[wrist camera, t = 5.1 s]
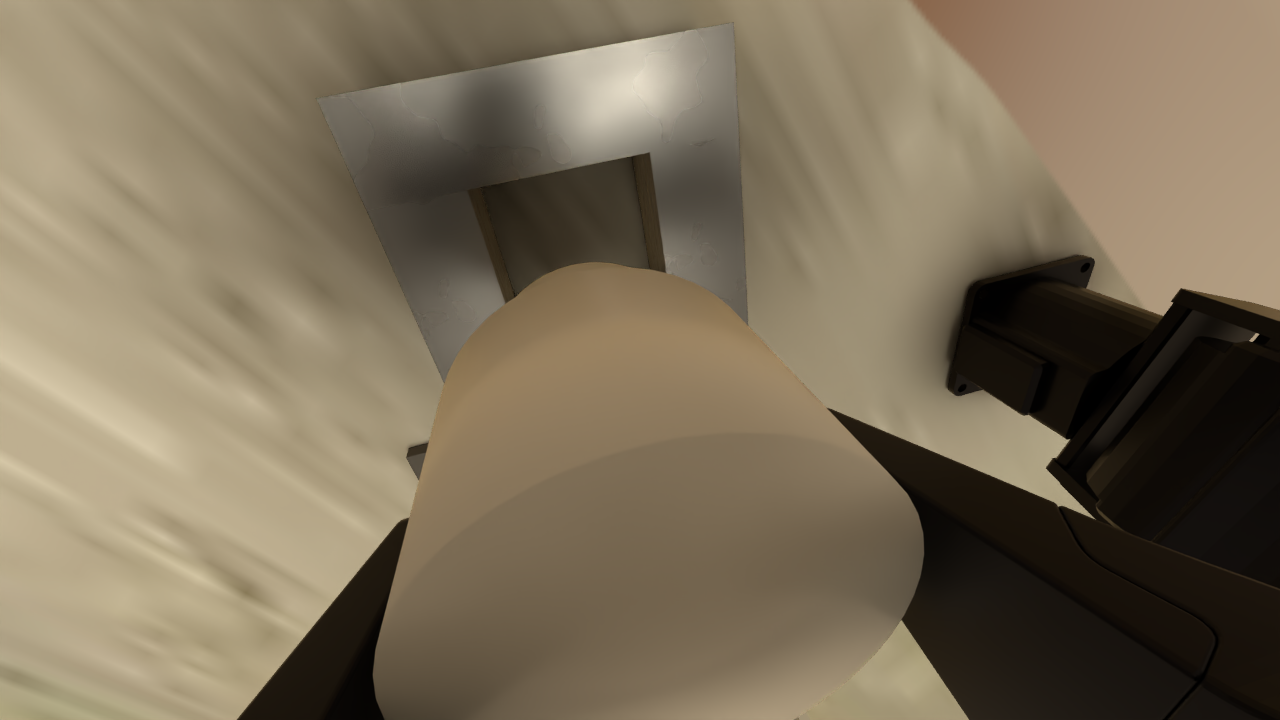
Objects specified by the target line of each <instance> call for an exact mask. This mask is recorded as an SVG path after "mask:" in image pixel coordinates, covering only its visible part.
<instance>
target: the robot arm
mask: <svg viewBox="0 0 1280 720" xmlns="http://www.w3.org/2000/svg"><path fill="white" fill-rule="evenodd" d="M1094 264H1095V261H1094V259H1093V258H1091V257H1088V256H1084V255H1080V256H1076V257H1072V258H1068V259H1064V260H1060V261H1056V262H1052V263H1048V264H1044V265H1040V266H1036V267H1033V268H1029V269H1025V270H1021V271H1017V272H1013V273H1009V274H1005V275H1001V276H997V277H993V278H989V279H985V280H981V281H978V282H976V283H975V284H973V285H972V286H971V288H970V289H969V292H968V295H967V300H966V305H965V309H964V314H963V319H962V323H961V328H960V333H959V338H958V342H957V347H956V352H955V356H954V361H953V366H952V371H951V375H950V380H949V385H948V390H949V391H950V392H951V393H953V394H954V395H956V396H961V395H965V394H968V393H972V392H975V391H979V390H984V391H986V392H987V393H989V394H990V395H992V396H993V397H995V398H997V399H998V400H1000V401H1001V402H1003V403H1004V404H1006V405H1007V406H1009V407H1010V408H1012V409H1013V410H1015V411H1016V412H1018V413H1019V414H1021V415H1024V416H1025V415H1030V416H1031V417H1033V418H1034V419H1036V420H1038V421H1039V422H1041V423H1042V424H1044V425H1045V426H1047V427H1048V428H1050V429H1051V430H1053V431H1055V432H1056V433H1058V434H1059V435H1061V436H1062V437H1064V438H1065V439H1070V441H1069V442H1068V443H1067V445H1066V446H1065V447H1064V449H1063V450H1062V451H1061V452H1060V454H1059V455H1058V456H1057V458H1053V459H1052V460H1051V462H1050V463H1049V464H1048V466H1047V467H1046V469H1047V470H1048V471H1049V472H1050V473H1051V474H1052V475H1053V476H1054V477H1055V478H1056V479H1057V480H1058V481H1059V482H1060V484H1061V485H1062V486H1063V487H1064V488H1065V489H1066V490H1067V491H1068V492H1069V493H1070V494H1071V495H1072V496H1073V497H1074V498H1075V499H1076V500H1077V501H1078V502H1079V503H1080V504H1081V505H1082V506H1083V507H1084V508H1085V509H1086V510H1087V511H1088V512H1089V513H1090V514H1091V515H1092V516H1093V517H1094V518H1095V519H1096V520H1095V519H1093V518H1090V517H1088V516H1086V515H1083V514H1081V513H1078V512H1076V511H1074V510H1071V509H1069V508H1067V507H1064V506H1059V507H1058V506H1057V504H1056V503H1054V502H1052V501H1049V500H1047V499H1045V498H1042V497H1040V496H1037V495H1035V494H1033V493H1030V492H1028V491H1026V490H1023V489H1021V488H1018V487H1016V486H1014V485H1011V484H1009V483H1006V482H1004V481H1002V480H999V479H997V478H995V477H992V476H990V475H987V474H985V473H983V472H980V471H978V470H975V469H973V468H971V467H968V466H966V465H963V464H961V463H959V462H956V461H954V460H952V459H949V458H947V457H944V456H942V455H940V454H937V453H935V452H932V451H930V450H928V449H925V448H923V447H921V446H918V445H916V444H913V443H911V442H909V441H906V440H904V439H901V438H899V437H897V436H894V435H892V434H889V433H887V432H885V431H882V430H880V429H878V428H875V427H873V426H870V425H868V424H866V423H863V422H861V421H858V420H856V419H854V418H851V417H849V416H847V415H844V414H842V413H839V412H837V411H835V410H832V409H829V408H827V409H828V410H829V411H830V412H831V413H832V414H833V415H834V416H835V417H836V418H837V419H838V421H839V422H840V423H841V424H842V425H843V426H844V427H845V428H846V429H847V430H848V431H849V432H850V433H851V434H852V435H853V436H854V437H855V438H856V439H857V440H858V441H859V443H860V444H861V445H862V446H863V447H864V448H865V449H866V450H867V451H868V452H869V453H870V454H871V455H872V456H873V457H874V458H875V459H876V460H877V461H878V462H879V463H880V464H881V466H882V467H883V468H884V469H885V470H886V471H887V472H888V473H889V474H890V475H891V476H892V477H893V478H894V479H895V480H896V482H897V483H898V484H899V485H900V486H901V487H902V488H903V489H904V491H905V492H906V493H907V494H908V496H909V498H910V499H911V501H912V503H913V505H914V507H915V509H916V511H917V512H918V515H919V519H920V523H921V527H922V530H923V537H924V558H923V565H922V571H921V576H920V579H919V582H918V585H917V588H916V591H915V594H914V596H913V598H912V600H911V602H910V604H909V606H908V608H907V610H906V612H905V614H904V616H903V618H902V619H901V620H902V621H903V623H904V624H905V626H906V627H907V629H908V630H909V632H910V633H911V635H912V636H913V637H914V639H915V640H916V642H917V643H918V645H919V646H920V648H921V649H922V651H923V652H924V654H925V655H926V657H927V658H928V660H929V661H930V663H931V664H932V666H933V667H934V668H935V670H936V671H937V673H938V674H939V676H940V677H941V679H942V680H943V682H944V683H945V685H946V686H947V688H948V689H949V691H950V692H951V694H952V695H953V696H954V698H955V699H956V701H957V702H958V704H959V705H960V707H961V708H962V710H963V711H964V713H965V714H966V716H967V717H968V719H969V720H1280V310H1276V309H1273V308H1270V307H1266V306H1263V305H1259V304H1255V303H1251V302H1246V301H1241V300H1236V299H1231V298H1226V297H1221V296H1217V295H1212V294H1207V293H1202V292H1196V291H1192V290H1186V289H1182V288H1181V289H1180V290H1179V292H1178V293H1177V294H1176V295H1175V297H1174V298H1173V299H1172V301H1171V302H1173V304H1172V306H1171V307H1170V308H1169V310H1168V311H1167V312H1166V314H1165V315H1164V316H1162V315H1158V314H1156V313H1153V312H1150V311H1147V310H1145V309H1142V308H1139V307H1136V306H1133V305H1131V304H1128V303H1125V302H1122V301H1119V300H1117V299H1114V298H1111V297H1108V296H1105V295H1102V294H1100V293H1097V292H1094V291H1091V290H1088V289H1086V287H1087V285H1088V282H1089V279H1090V276H1091V273H1092V270H1093V267H1094ZM1255 333H1258V334H1259V336H1258V337H1257V338H1256V339H1255V340H1254V341H1253V342H1250V341H1249V340H1250V339H1251V338H1252V337H1253V336H1254V335H1255ZM408 521H409V518H406V519H403V520H401V521H400V522H398V523H397V525H396V526H395V527H394V528H393V529H392V531H391V532H390V533H389V534H388V535H387V537H386V538H385V539H384V540H383V542H382V543H381V544H380V545H379V546H378V548H377V549H376V550H375V551H374V553H373V554H372V555H371V556H370V557H369V559H368V560H367V561H366V562H365V564H364V565H363V566H362V567H361V568H360V570H359V571H358V572H357V573H356V575H355V576H354V577H353V578H352V579H351V581H350V582H349V583H348V584H347V586H346V587H345V588H344V589H343V590H342V592H341V593H340V594H339V595H338V597H337V598H336V599H335V600H334V601H333V603H332V604H331V605H330V606H329V608H328V609H327V610H326V611H325V612H324V614H323V615H322V616H321V617H320V619H319V620H318V621H317V622H316V623H315V625H314V626H313V627H312V628H311V630H310V631H309V632H308V633H307V634H306V636H305V637H304V638H303V639H302V641H301V642H300V643H299V644H298V645H297V647H296V648H295V649H294V650H293V652H292V653H291V654H290V655H289V657H288V658H287V659H286V660H285V661H284V663H283V664H282V665H281V666H280V668H279V669H278V670H277V671H276V672H275V674H274V675H273V676H272V677H271V679H270V680H269V681H268V682H267V683H266V685H265V686H264V687H263V688H262V690H261V691H260V692H259V693H258V694H257V696H256V697H255V698H254V699H253V701H252V702H251V703H250V704H249V705H248V707H247V708H246V709H245V710H244V712H243V713H242V714H241V715H240V716H239V718H238V719H237V720H384V717H383V715H382V712H381V710H380V708H379V705H378V703H377V700H376V696H375V689H374V681H373V668H374V659H375V650H376V646H377V642H378V638H379V634H380V630H381V626H382V622H383V618H384V615H385V611H386V607H387V603H388V599H389V595H390V591H391V587H392V583H393V580H394V576H395V572H396V568H397V564H398V560H399V556H400V552H401V548H402V545H403V541H404V537H405V533H406V529H407V525H408Z"/></svg>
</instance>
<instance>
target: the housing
mask: <svg viewBox="0 0 1280 720" xmlns="http://www.w3.org/2000/svg"><path fill="white" fill-rule="evenodd" d="M316 99H317V102H318V104H319V106H320V108H321V110H322V113H323V115H324V117H325V119H326V122H327V124H328V126H329V128H330V130H331V133H332V135H333V137H334V139H335V142H336V144H337V146H338V148H339V150H340V153H341V155H342V157H343V159H344V162H345V164H346V166H347V168H348V170H349V173H350V175H351V177H352V179H353V182H354V184H355V186H356V188H357V190H358V193H359V195H360V197H361V199H362V202H363V204H364V206H365V208H366V210H367V213H368V215H369V217H370V219H371V222H372V224H373V226H374V228H375V230H376V233H377V235H378V237H379V239H380V242H381V244H382V246H383V248H384V250H385V253H386V255H387V257H388V259H389V262H390V264H391V266H392V268H393V270H394V273H395V275H396V277H397V279H398V282H399V284H400V286H401V288H402V290H403V293H404V295H405V297H406V299H407V302H408V304H409V306H410V308H411V311H412V313H413V315H414V317H415V319H416V322H417V324H418V326H419V328H420V331H421V333H422V335H423V337H424V339H425V342H426V344H427V346H428V348H429V351H430V353H431V355H432V357H433V359H434V362H435V364H436V366H437V368H438V371H439V373H440V375H441V377H442V379H443V382H444V384H445V381H446V377H447V374H448V372H449V370H450V368H451V366H452V364H453V362H454V360H455V358H456V356H457V354H458V353H459V351H460V350H461V348H462V347H463V346H464V344H465V343H466V341H467V340H468V339H469V337H470V336H471V335H472V333H473V332H474V331H475V330H476V329H477V328H478V327H479V326H480V325H481V324H482V323H483V322H484V321H485V320H486V319H487V318H488V317H489V316H490V315H492V314H493V313H494V312H496V311H497V310H498V309H499V308H501V307H502V306H503V305H505V304H506V303H507V302H509V301H510V300H512V299H514V298H515V295H514V292H513V289H512V286H511V283H510V280H509V277H508V274H507V270H506V267H505V264H504V261H503V258H502V255H501V252H500V249H499V245H498V242H497V239H496V236H495V233H494V230H493V227H492V224H491V221H490V217H489V214H488V211H487V208H486V205H485V202H484V199H483V196H482V192H481V189H480V187H485V186H490V185H494V184H499V183H504V182H509V181H514V180H519V179H523V178H528V177H533V176H538V175H543V174H548V173H552V172H557V171H562V170H567V169H572V168H576V167H581V166H586V165H591V164H596V163H601V162H605V161H610V160H615V159H620V158H625V157H630V156H632V157H633V164H634V170H635V177H636V183H637V189H638V196H639V202H640V209H641V215H642V221H643V228H644V234H645V240H646V247H647V253H648V260H649V266H650V270H655V271H659V272H664V273H668V274H672V275H676V276H678V277H681V278H683V279H686V280H688V281H691V282H693V283H696V284H697V285H699V286H701V287H703V288H704V289H706V290H708V291H710V292H711V293H713V294H715V295H716V296H717V297H718V298H720V299H721V300H722V301H723V302H725V303H726V304H727V305H728V306H730V308H731V309H732V310H733V311H734V312H735V313H736V314H737V315H738V316H739V317H740V318H741V319H742V320H743V321H744V322H745V323H746V324H747V325H748V311H747V290H746V269H745V248H744V227H743V206H742V185H741V164H740V143H739V122H738V101H737V80H736V59H735V38H734V22H732V23H727V24H721V25H716V26H710V27H705V28H699V29H694V30H688V31H683V32H677V33H672V34H666V35H661V36H655V37H650V38H644V39H639V40H633V41H628V42H622V43H617V44H611V45H606V46H600V47H595V48H589V49H584V50H578V51H573V52H567V53H562V54H556V55H551V56H545V57H540V58H534V59H529V60H523V61H518V62H512V63H507V64H501V65H496V66H490V67H485V68H479V69H474V70H468V71H463V72H457V73H452V74H446V75H441V76H435V77H430V78H424V79H419V80H413V81H408V82H402V83H397V84H391V85H386V86H380V87H375V88H369V89H364V90H358V91H353V92H347V93H342V94H336V95H331V96H325V97H320V98H316Z"/></svg>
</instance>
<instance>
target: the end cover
mask: <svg viewBox="0 0 1280 720" xmlns="http://www.w3.org/2000/svg"><path fill="white" fill-rule="evenodd" d="M923 558H924V537H923V530H922V527H921V523H920V519H919V515H918V512H917V511H916V509H915V507H914V505H913V503H912V501H911V499H910V498H909V496H908V494H907V493H906V492H905V491H904V489H903V488H902V487H901V486H900V485H899V484H898V483H897V482H896V480H895V479H894V478H893V477H892V476H891V475H890V474H889V473H888V472H887V471H886V470H885V469H884V468H883V467H882V466H881V464H880V463H879V462H878V461H877V460H876V459H875V458H874V457H873V456H872V455H871V454H870V453H869V452H868V451H867V450H866V449H865V448H864V447H863V446H862V445H861V444H860V443H859V441H858V440H857V439H856V438H855V437H854V436H853V435H852V434H851V433H850V432H849V431H848V430H847V429H846V428H845V427H844V426H843V425H842V424H841V423H840V422H839V421H838V419H837V418H836V417H835V416H834V415H833V414H832V413H831V412H830V411H829V410H828V409H827V408H826V407H825V406H824V405H823V404H822V403H821V402H820V401H819V400H818V399H817V398H816V396H815V395H814V394H813V393H812V392H811V391H810V390H809V389H808V388H807V387H806V386H805V385H804V384H803V383H802V382H801V381H800V380H799V379H798V378H797V377H796V376H795V374H794V373H793V372H792V371H791V370H790V369H789V368H788V367H787V366H786V365H785V364H784V363H783V362H782V361H781V360H780V359H779V358H778V357H777V356H776V355H775V354H774V353H773V351H772V350H771V349H770V348H769V347H768V346H767V345H766V344H765V343H764V342H763V341H762V340H761V339H760V338H759V337H758V336H757V335H756V334H755V333H754V332H753V331H752V329H751V328H750V327H749V326H748V325H747V324H746V323H745V322H744V321H743V320H742V319H741V318H740V317H739V316H738V315H737V314H736V313H735V312H734V311H733V310H732V309H731V308H730V306H728V305H727V304H726V303H725V302H723V301H722V300H721V299H720V298H718V297H717V296H716V295H715V294H713V293H711V292H710V291H708V290H706V289H704V288H703V287H701V286H699V285H697V284H696V283H693V282H691V281H688V280H686V279H683V278H681V277H678V276H676V275H672V274H668V273H664V272H659V271H655V270H649V269H640V268H630V267H627V266H623V265H619V264H614V263H605V262H586V263H580V264H573V265H570V266H566V267H562V268H559V269H557V270H554V271H552V272H550V273H547V274H545V275H544V276H542V277H540V278H539V279H537V280H535V281H534V282H532V283H531V284H530V285H528V286H527V287H526V288H525V289H523V290H522V291H521V292H520V293H519V294H518V295H517V296H516V297H515V298H514V299H512V300H510V301H509V302H507V303H506V304H505V305H503V306H502V307H501V308H499V309H498V310H497V311H496V312H494V313H493V314H492V315H490V316H489V317H488V318H487V319H486V320H485V321H484V322H483V323H482V324H481V325H480V326H479V327H478V328H477V329H476V330H475V331H474V332H473V333H472V335H471V336H470V337H469V339H468V340H467V341H466V343H465V344H464V346H463V347H462V348H461V350H460V351H459V353H458V354H457V356H456V358H455V360H454V362H453V364H452V366H451V368H450V370H449V372H448V374H447V377H446V381H445V384H444V387H443V390H442V393H441V397H440V401H439V405H438V408H437V412H436V416H435V420H434V424H433V428H432V432H431V436H430V440H429V443H428V447H427V451H426V455H425V459H424V463H423V467H422V471H421V475H420V478H419V482H418V486H417V490H416V494H415V498H414V502H413V506H412V510H411V513H410V517H409V521H408V525H407V529H406V533H405V537H404V541H403V545H402V548H401V552H400V556H399V560H398V564H397V568H396V572H395V576H394V580H393V583H392V587H391V591H390V595H389V599H388V603H387V607H386V611H385V615H384V618H383V622H382V626H381V630H380V634H379V638H378V642H377V646H376V650H375V659H374V668H373V681H374V689H375V696H376V700H377V703H378V705H379V708H380V710H381V712H382V715H383V717H384V720H794V719H796V718H797V717H799V716H800V715H802V714H803V713H805V712H806V711H808V710H809V709H811V708H812V707H814V706H815V705H817V704H818V703H820V702H821V701H822V700H824V699H825V698H826V697H828V696H829V695H830V694H832V693H833V692H834V691H836V690H837V689H838V688H840V687H841V686H842V685H843V684H844V683H845V682H847V681H848V680H849V679H850V678H851V677H852V676H853V675H855V674H856V673H857V672H858V671H859V670H860V669H861V668H862V667H863V666H864V665H865V664H866V663H867V662H868V661H869V660H870V659H871V658H872V657H873V656H874V655H875V654H876V653H877V651H878V650H879V649H880V648H881V646H882V645H883V644H884V643H885V642H886V640H887V639H888V638H889V637H890V635H891V634H892V633H893V631H894V630H895V628H896V627H897V625H898V624H899V622H900V621H901V619H902V618H903V616H904V614H905V612H906V610H907V608H908V606H909V604H910V602H911V600H912V598H913V596H914V594H915V591H916V588H917V585H918V582H919V579H920V576H921V571H922V565H923Z"/></svg>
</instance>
